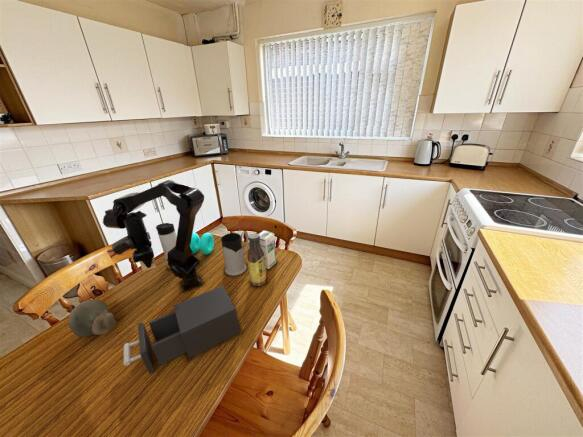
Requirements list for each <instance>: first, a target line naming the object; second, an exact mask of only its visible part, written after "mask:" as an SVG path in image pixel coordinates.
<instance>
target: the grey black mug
mask: <svg viewBox="0 0 583 437" xmlns="http://www.w3.org/2000/svg"><path fill="white" fill-rule="evenodd" d="M244 234H246V243H245V246H243V236H244ZM248 236H249V233H248V231H242V232H241V234H239V233H238V232H230V233H226V234H223V235H222V236H221V238H220V241H221V249H222V255H223V260H224V265H225V266H224V267H225V269H224V271H225V274H226V275H228V276H239V275H241V274H244V273H245V271H246V270H247V268H248V267H247V265H246V262H245V261H246V260H245V254H246V251H247V249H248V246H249V240H248ZM243 247H244V248H243Z"/></svg>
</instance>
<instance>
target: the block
mask: <svg viewBox="0 0 583 437" xmlns="http://www.w3.org/2000/svg"><path fill="white" fill-rule="evenodd" d="M139 264H140V267H141V269H142V272H146V271H150V270H152V269H156V268H157V265H156V264H157V263H156V259H155V256H154V257H153V258H152V263H151V267H150V268H147V267H146V266H145V264H144V263H143V262H142V261H140V262H139Z"/></svg>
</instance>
